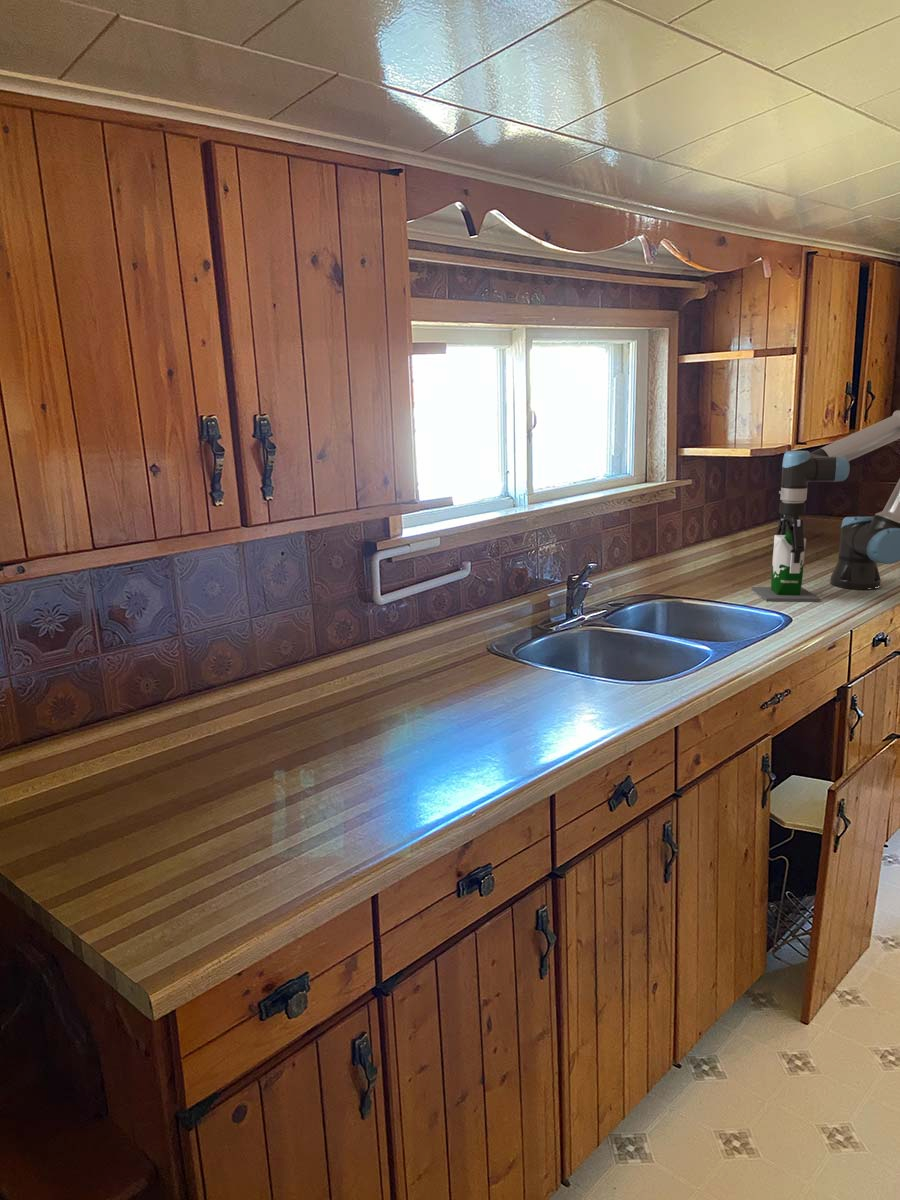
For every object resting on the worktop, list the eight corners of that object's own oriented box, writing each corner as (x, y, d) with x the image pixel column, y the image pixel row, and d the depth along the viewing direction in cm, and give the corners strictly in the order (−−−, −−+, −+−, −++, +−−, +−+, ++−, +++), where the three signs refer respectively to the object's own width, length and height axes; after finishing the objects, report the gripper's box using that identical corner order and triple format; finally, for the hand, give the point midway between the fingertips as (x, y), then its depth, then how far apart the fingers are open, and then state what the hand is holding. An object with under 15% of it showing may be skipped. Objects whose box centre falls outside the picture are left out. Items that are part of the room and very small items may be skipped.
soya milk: (775, 595, 262) (780, 532, 257) (767, 589, 270) (772, 527, 266) (804, 596, 261) (809, 532, 256) (795, 589, 269) (800, 528, 265)
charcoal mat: (801, 590, 273) (801, 587, 273) (819, 601, 258) (819, 598, 257) (751, 589, 274) (751, 586, 274) (766, 601, 259) (766, 598, 258)
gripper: (768, 496, 271) (763, 561, 276) (793, 506, 247) (788, 577, 252) (791, 496, 271) (786, 561, 276) (819, 506, 246) (813, 577, 251)
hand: (787, 568), depth 264 cm, fingers open, 13 cm apart
